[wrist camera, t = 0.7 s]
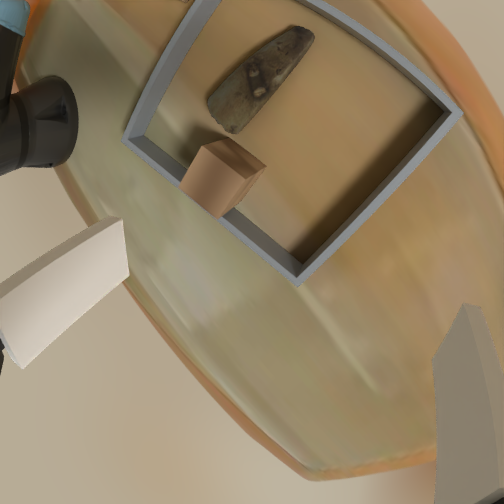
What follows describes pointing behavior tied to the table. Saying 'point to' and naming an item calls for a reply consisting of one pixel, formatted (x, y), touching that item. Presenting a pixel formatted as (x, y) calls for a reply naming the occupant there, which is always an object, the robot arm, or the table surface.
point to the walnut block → (221, 176)
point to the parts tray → (233, 219)
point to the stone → (258, 79)
